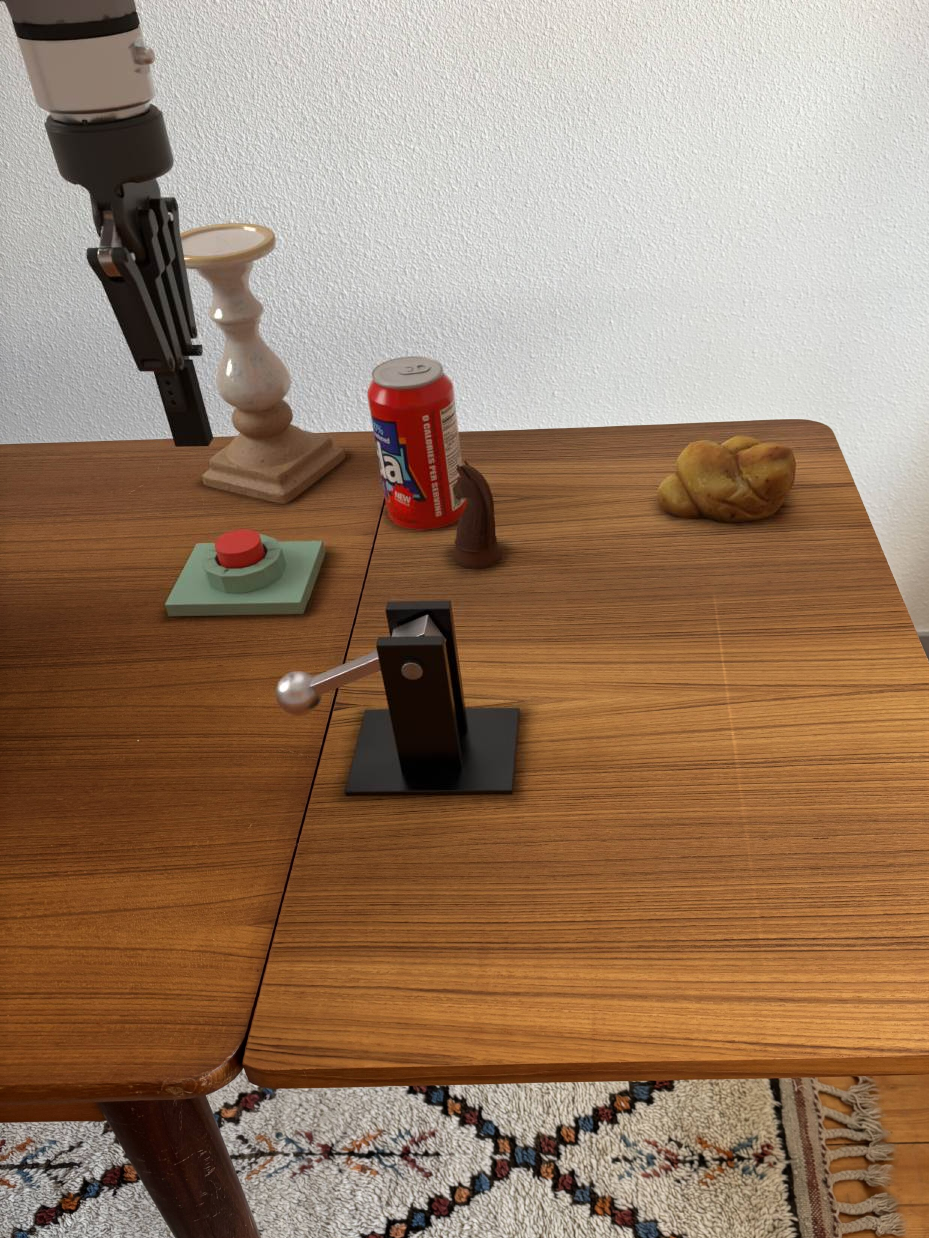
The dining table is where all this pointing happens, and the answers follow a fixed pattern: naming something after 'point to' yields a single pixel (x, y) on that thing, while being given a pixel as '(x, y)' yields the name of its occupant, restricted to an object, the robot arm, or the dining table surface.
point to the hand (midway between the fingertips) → (194, 441)
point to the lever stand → (430, 720)
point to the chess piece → (475, 521)
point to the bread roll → (729, 480)
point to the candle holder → (252, 375)
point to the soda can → (416, 441)
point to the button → (239, 549)
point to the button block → (248, 581)
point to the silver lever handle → (339, 673)
